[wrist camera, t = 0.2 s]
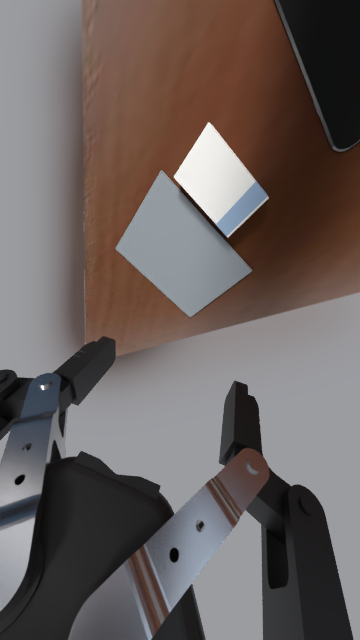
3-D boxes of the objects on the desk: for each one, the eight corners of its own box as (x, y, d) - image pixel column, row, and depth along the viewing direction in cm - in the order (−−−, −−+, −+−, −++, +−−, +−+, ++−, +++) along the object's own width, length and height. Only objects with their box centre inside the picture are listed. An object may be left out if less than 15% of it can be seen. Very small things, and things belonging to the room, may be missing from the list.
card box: (180, 176, 25) (173, 177, 23) (213, 126, 21) (208, 121, 19) (230, 232, 27) (227, 237, 25) (268, 195, 23) (269, 198, 21)
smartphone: (400, -233, 10) (454, 73, 15) (393, -213, 11) (447, 76, 16) (263, -31, 15) (336, 158, 19) (263, -23, 15) (334, 159, 20)
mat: (162, 170, 25) (161, 170, 24) (252, 270, 29) (252, 271, 28) (116, 248, 33) (115, 248, 33) (190, 316, 37) (190, 317, 37)
